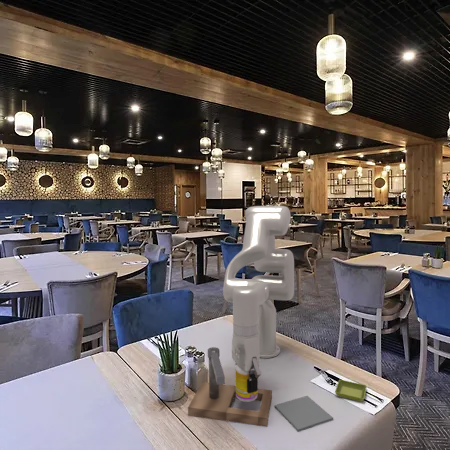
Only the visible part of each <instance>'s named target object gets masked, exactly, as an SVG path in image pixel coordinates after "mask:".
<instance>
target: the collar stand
mask: <svg viewBox="0 0 450 450" xmlns="http://www.w3.org/2000/svg"><path fill="white" fill-rule="evenodd" d="M235 399H238V398H237V397H236V385H231V384H220V385H217V382H216V378H215V374H214V370H213V366H212V361H211V359H210V358H208V382H207V381H202V382H201V384H200V386H199V387H198V389H197V391H196V392H195V395H194V396H193V397H192V399H191V401H190V403H189V404H188V406H187V415H188V416H191V417H198V418H203V419H204V418H205V419H211V420H219V421H226V422H232V423H241V424H245V425H254V426H260V427H268V422H269V417H270V413H271V412H270V411H271V405H272V401H273V400H272V399H273V390H271V389H266V388H258V396H257V398H256V399H255V400H254V401H257V402H260V407H259V410H253V409H252V410H251V409H245V408H236V407H232V406H233V404H234V401H235Z"/></svg>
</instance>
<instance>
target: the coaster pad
mask: <svg viewBox="0 0 450 450" xmlns="http://www.w3.org/2000/svg"><path fill="white" fill-rule="evenodd" d="M274 408H275V410H277V411H278V413H279V414H280V415H281V416H282V417H284V419H285V420H287V422H288V423H289V424H290V425H291V426H292V427H293V428H294V429H295V430H296V431H297V432H301V431H304V430H307V429H309V428H310V429H311V428H312V427H313V428H314V427H316V426H319V425H322V424H325V423H328V422H331V421H334V417H333V416H332V415H330V413H329V412H327V411H326V410H325V409H324V408H322V407H321V405H319V404H318V403H316V402H315V401H314V400H313V399H312V398H311V397H310V396H308V395H305V396H302V397H298V398H295V399H294V398H293V399H290V400H288V401H285V402H281V403H278V404H274Z"/></svg>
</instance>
